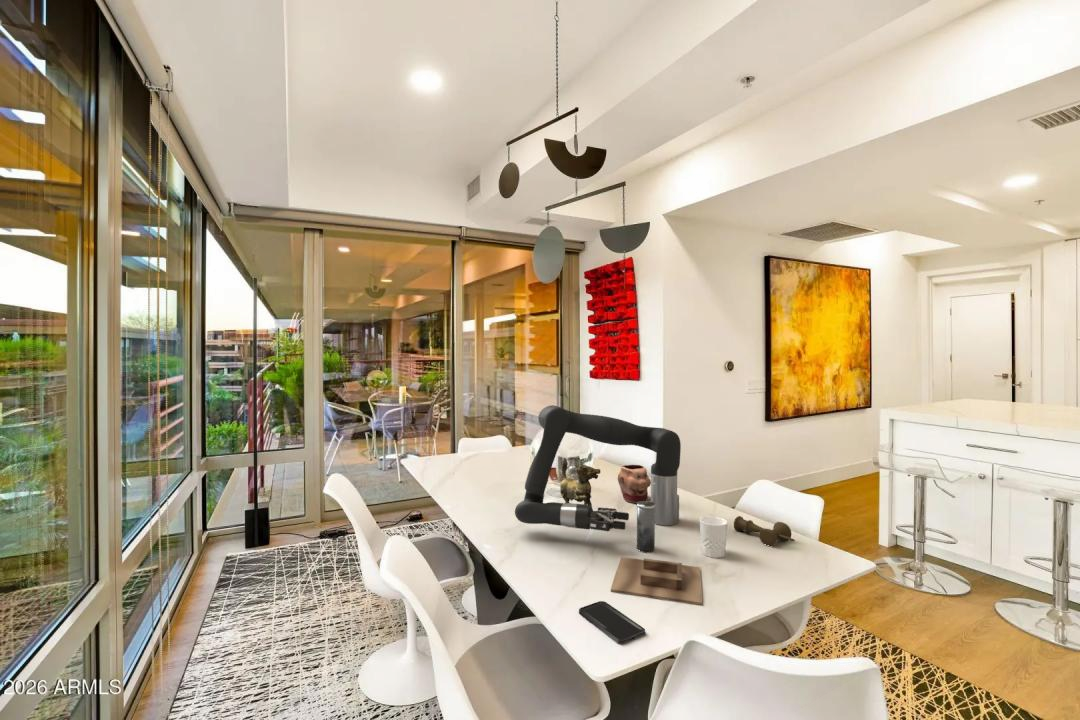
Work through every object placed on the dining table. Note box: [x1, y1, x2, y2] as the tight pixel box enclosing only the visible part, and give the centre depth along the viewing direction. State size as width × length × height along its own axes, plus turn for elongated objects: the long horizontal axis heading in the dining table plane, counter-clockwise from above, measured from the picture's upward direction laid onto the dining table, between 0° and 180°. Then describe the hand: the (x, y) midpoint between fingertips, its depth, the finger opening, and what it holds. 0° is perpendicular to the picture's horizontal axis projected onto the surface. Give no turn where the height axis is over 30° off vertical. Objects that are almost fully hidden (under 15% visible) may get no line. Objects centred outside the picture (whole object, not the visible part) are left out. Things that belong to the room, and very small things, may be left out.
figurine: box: [559, 457, 601, 511], centre depth 179 cm, size 13×25×20 cm, turn 31°
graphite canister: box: [636, 500, 656, 553], centre depth 148 cm, size 6×6×14 cm
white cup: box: [699, 515, 728, 559], centre depth 145 cm, size 8×8×10 cm
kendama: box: [733, 515, 796, 547], centre depth 156 cm, size 6×10×20 cm
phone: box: [578, 600, 646, 645], centre depth 107 cm, size 8×1×15 cm
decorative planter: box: [617, 464, 651, 504], centre depth 198 cm, size 20×12×14 cm, turn 22°
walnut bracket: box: [610, 556, 703, 606], centre depth 127 cm, size 22×20×3 cm
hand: (627, 521), depth 149 cm, fingers open, 8 cm apart
